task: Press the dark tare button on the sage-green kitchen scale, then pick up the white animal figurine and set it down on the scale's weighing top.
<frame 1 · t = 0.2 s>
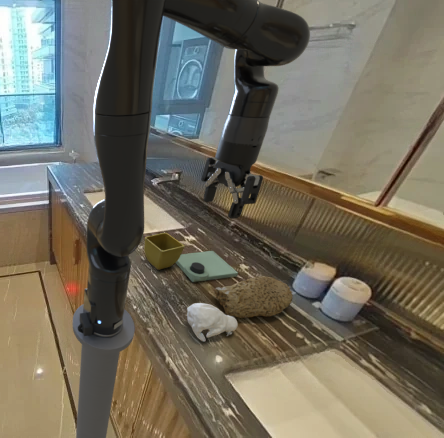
hand: (219, 209, 65), 28 cm above the worktop, tool pointing down, fingers open, 8 cm apart
ceramic cup: (114, 176, 166), on the worktop
flower pot: (159, 264, 93), on the worktop
scale: (202, 267, 92), on the worktop
white animal figurine: (209, 332, 70), on the worktop
tare button: (197, 268, 86), point 4 cm above the worktop, slide at 0.1 cm
sponge: (251, 304, 77), on the worktop
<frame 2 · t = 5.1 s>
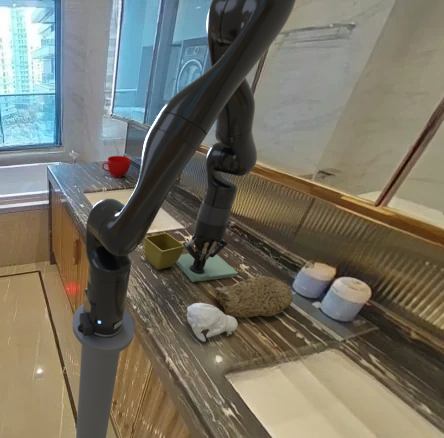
hand: (198, 267, 86), 4 cm above the worktop, tool pointing down, fingers closed
tare button: (196, 270, 86), point 3 cm above the worktop, slide at -0.6 cm, touching gripper
everything else where it was.
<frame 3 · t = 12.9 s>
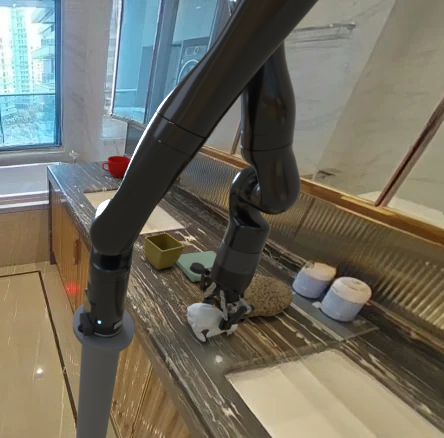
hand: (214, 318, 67), 5 cm above the worktop, tool pointing down, fingers closed on white animal figurine, 5 cm apart
white animal figurine: (209, 332, 70), on the worktop, touching gripper
tare button: (197, 268, 86), point 4 cm above the worktop, slide at 0.1 cm
everything else where it was.
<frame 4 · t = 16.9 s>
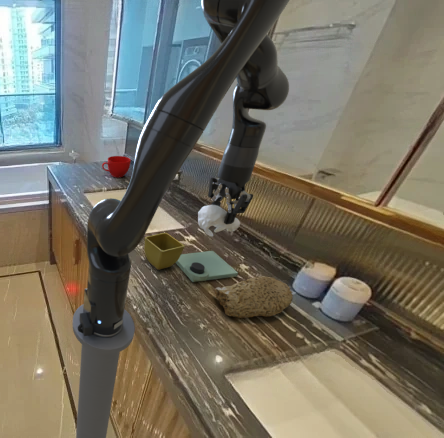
hand: (220, 218, 82), 18 cm above the worktop, tool pointing down, fingers closed on white animal figurine, 5 cm apart
white animal figurine: (216, 232, 84), point 14 cm above the worktop, touching gripper
everything else where it was.
when the fingers open (6 cm above the worktop, at t = 20.7 s): white animal figurine stays where it is, resting on scale.
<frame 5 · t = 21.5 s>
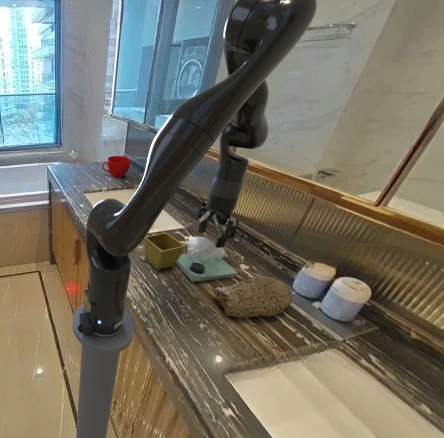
hand: (209, 239, 89), 9 cm above the worktop, tool pointing down, fingers open, 8 cm apart
white animal figurine: (204, 260, 93), point 1 cm above the worktop, touching scale
everything else where it was.
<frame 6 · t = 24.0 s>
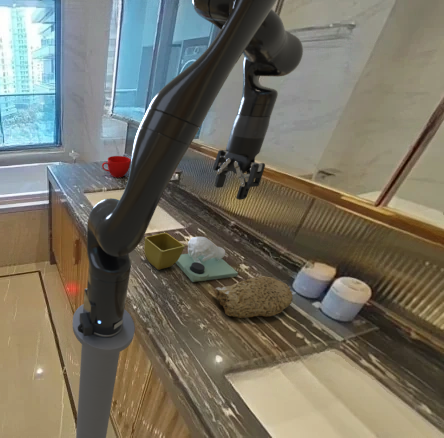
hand: (228, 192, 79), 26 cm above the worktop, tool pointing down, fingers open, 8 cm apart
nothing on the worktop moved.
at the end: tare button pushed in 0.9 cm at the most during the clip, back to where it started at the end; white animal figurine inside the target area on the scale (0.2 cm from its centre), point 1.2 cm above the scale's base; white animal figurine touching scale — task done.
